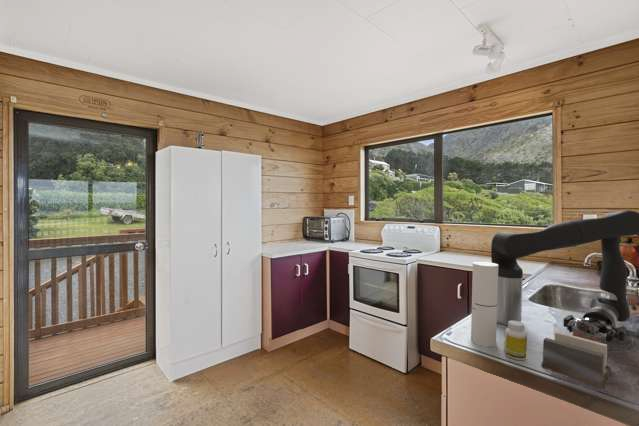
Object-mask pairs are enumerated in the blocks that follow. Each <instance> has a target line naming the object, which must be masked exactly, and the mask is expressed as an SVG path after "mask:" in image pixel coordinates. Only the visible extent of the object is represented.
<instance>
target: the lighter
mask: <svg viewBox="0 0 639 426" xmlns="http://www.w3.org/2000/svg"><path fill="white" fill-rule="evenodd" d="M572 329H573V332H572V335H573V336H576V337H580V338H584V339H588V340H592V341H595V342H599V343H602V342H601V341H602V337H603V336H601V335H599V334H597V333H595V332H599V328H598V327H596V326H594V325H592V324H590V323H589V322H583V321H581V320H577V326H576V325H575V326H572Z"/></svg>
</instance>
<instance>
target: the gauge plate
mask: <svg viewBox="0 0 639 426" xmlns="http://www.w3.org/2000/svg"><path fill="white" fill-rule="evenodd" d="M554 340H556V341H560V342H563V343H567V344H570V345H574V346H577V347H581V348H584V349H588V350H591V351H595V352H599V353H602V354H604V360H603V368H604V369H605V368H606V369H609V367H610V366H608V365H607V359H608V358H607V357H608V344H607V343H603V342H600V343H599V342H595V341H592V340H588V339H584V338H580V337H576V336H573V334H567V333H565V332H561V331H558V330H556V331H555V332H554Z"/></svg>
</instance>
